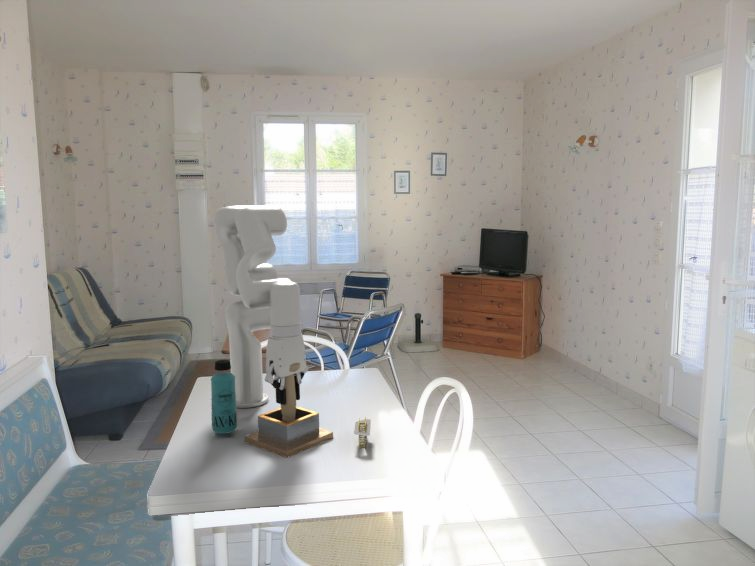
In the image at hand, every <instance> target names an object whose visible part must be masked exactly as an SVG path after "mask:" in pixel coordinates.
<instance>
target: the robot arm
mask: <svg viewBox="0 0 755 566" xmlns="http://www.w3.org/2000/svg"><path fill="white" fill-rule="evenodd" d="M213 227H214V232H215V236H216V238H217V241H218V243H219V245H220V248H221V251H222V255H223V265H224V272H225V273H224V274H225V281H226V283H225V284H226V288H227V291H228V292H229V294H230V295H232V296H236V297H240V300H237V301H233V302H231V303H229V304H228V305H227V306H226V308H225V310H224V317H225V324H226V327H227V334H228V342H229V343H228V344H229V359H230V360H229V361H230V364H231V369H230V373H232V374H233V375H234V376H235V391H236V404H237V405H236V407H237V408H236V409H239V408H240V409H241V408H242V409H245V408H247V409H249V408H255V407H260V406H262V405H265V404H266V403H268V402H269V396H268V394H267V393H265V392H264V384H263V383H264V382H266V383H268V384H270V385H271V386H273V389H275V402H276V404H279V405H281V404H282V405H285V404H286V389H284V383H285V377H287V376H290V375H293V374H294V380H295V392H296V401H299V400H300V399H301V392H300V386H301V384H302V383H303V382H302V380H303V379H304V376H305V374H306V373H307V372H308V371H309V366H308V365H307V358H306V357H307V355H306V348H305V341H304V336H303V334H302V329H303V324H302V322H301V321H302V320H301V318H302V317H301V289H300V285H299V284H298V283H297V282H294V281H293V280H291V279H290V278H288V277H280V276H279V275H280V274H279V272H278V270H277V268H276V267H275V265H273V264H270V263H267V262H268V261H271V259H272V258H273V257H274V256H275V254H276V250H277V249H276V248H277V247H276V244H275V242H274V239H273V237H272V236H282V235H284V234H285V232H286V231H287V227H288V220H287V216H286V214H285V212H284V211H283V209H282V208H280V207H279V206H273V205H272V206H271V205H228V206H223V207H220V208H217V210H216V211H215V212H214V215H213ZM264 330H270V337H268V340H267V344H266V351H265V353H266V354H265V373H266V374H265V376H264V377H265V378H264V377H263V355H262V354H263V353H262V344H261V341H260V340H259V339H258V338H257V337H256V336H255V334H254V333H253V332H257V331H264ZM298 363H300V368H299V369H298V370H297V371H295V372H289V368H290V366H291V365H295V364H298ZM263 378H264V381H263Z"/></svg>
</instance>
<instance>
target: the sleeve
mask: <svg viewBox="0 0 755 566" xmlns="http://www.w3.org/2000/svg"><path fill="white" fill-rule="evenodd" d="M319 413H320V412H316V411H314V410H310V409H307V408H303V407H300V406H297V405H296V413H295V420H294V421H291V422H284V421H283V419H282V417H283V415H282V412H281V407H278V408H276V409H273V410H269V411H266V412H264V413H261V414H258V415H257V430H256V431H253V432H252V433H248V434H246V435H244V441H243V442H244V443H247V444H249V445H252V446H255V447H257V448H261V449H263V450H266V451H268V452H271V453H274V454H277V455H279V456H281V457H284V458H289V457H291V456H294V455H296V454H299V453H302V452H303V451H305V450H308V449H311V448H312V447H315V446H317V445H319V444H321V443H324V442H326V441H329V440H331V439H333V438H334V431H332V430H328V429H324V428H321V427H320V414H319Z"/></svg>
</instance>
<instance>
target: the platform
mask: <svg viewBox="0 0 755 566" xmlns="http://www.w3.org/2000/svg"><path fill="white" fill-rule="evenodd" d="M371 423H372V420H371V419H369V418H368V419H367V416H365V417H364V419H362V420H361V416H359V417H358V421H355V423H354V429H353V430H354V431H353V432H354V435H357V436H358V448H364V450H365V451H367V443H368V442H367V441H368V436H371V426H372V425H371Z"/></svg>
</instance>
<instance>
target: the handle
mask: <svg viewBox="0 0 755 566" xmlns="http://www.w3.org/2000/svg"><path fill="white" fill-rule="evenodd" d="M299 368H300V363H298V364H295V365H291V366H290V368H289V372H295V371H297V370H298V369H299ZM284 389H286V404H285V405H282V404H280V408H281V412H282V415H283V417H282V419H283V421H284V422H291V421H294V420H295V413H296V406H297V400H296V392H295V380H294V374H293V375H290V376H287V377H285V383H284Z"/></svg>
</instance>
